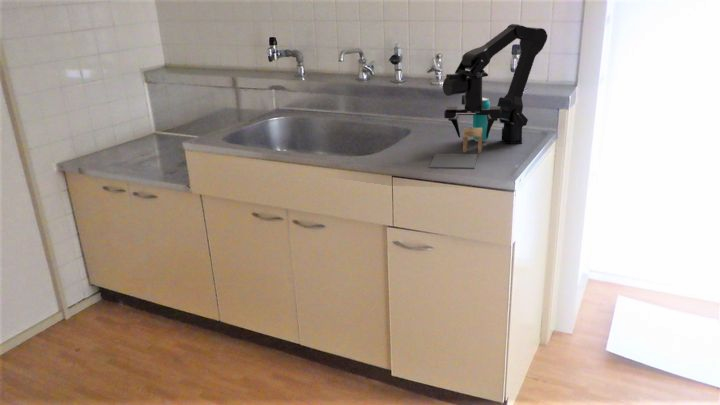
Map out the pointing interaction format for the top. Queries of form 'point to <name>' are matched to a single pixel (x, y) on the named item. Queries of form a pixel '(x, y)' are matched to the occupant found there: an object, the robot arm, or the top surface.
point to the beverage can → (482, 120)
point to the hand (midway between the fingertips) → (473, 137)
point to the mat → (454, 161)
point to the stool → (472, 133)
